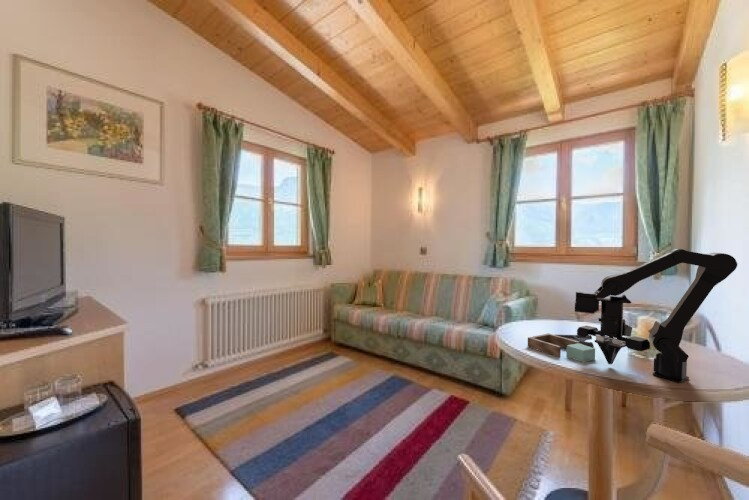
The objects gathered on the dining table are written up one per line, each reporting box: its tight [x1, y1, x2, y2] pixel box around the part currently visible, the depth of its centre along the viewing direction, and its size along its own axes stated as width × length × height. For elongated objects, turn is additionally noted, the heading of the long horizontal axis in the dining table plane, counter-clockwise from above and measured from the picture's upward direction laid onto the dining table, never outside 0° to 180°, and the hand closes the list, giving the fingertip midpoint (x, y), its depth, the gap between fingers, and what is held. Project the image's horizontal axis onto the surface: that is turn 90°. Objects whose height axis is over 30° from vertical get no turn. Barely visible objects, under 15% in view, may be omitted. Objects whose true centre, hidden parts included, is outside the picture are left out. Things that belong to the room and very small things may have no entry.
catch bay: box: [527, 332, 581, 358], centre depth 123 cm, size 12×12×4 cm
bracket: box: [555, 334, 595, 348], centre depth 131 cm, size 14×15×3 cm
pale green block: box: [566, 343, 596, 363], centre depth 114 cm, size 6×6×4 cm
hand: (610, 363), depth 106 cm, fingers closed
